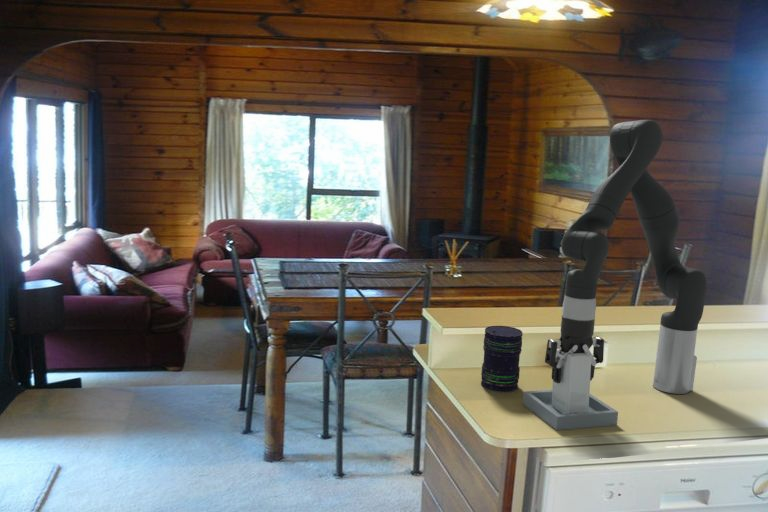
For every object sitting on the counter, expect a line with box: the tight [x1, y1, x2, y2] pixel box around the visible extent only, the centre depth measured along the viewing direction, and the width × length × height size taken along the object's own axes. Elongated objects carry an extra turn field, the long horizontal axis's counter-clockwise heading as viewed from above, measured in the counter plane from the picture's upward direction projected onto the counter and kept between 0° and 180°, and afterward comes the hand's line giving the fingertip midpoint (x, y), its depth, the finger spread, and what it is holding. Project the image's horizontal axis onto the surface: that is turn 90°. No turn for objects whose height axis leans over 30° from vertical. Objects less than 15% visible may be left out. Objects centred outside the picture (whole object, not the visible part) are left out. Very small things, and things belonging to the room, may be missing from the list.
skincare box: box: [551, 347, 592, 414], centre depth 176 cm, size 8×6×15 cm
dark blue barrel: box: [480, 325, 524, 393], centre depth 194 cm, size 10×10×15 cm
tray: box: [522, 389, 619, 431], centre depth 177 cm, size 16×16×3 cm
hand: (572, 380), depth 176 cm, fingers open, 8 cm apart
